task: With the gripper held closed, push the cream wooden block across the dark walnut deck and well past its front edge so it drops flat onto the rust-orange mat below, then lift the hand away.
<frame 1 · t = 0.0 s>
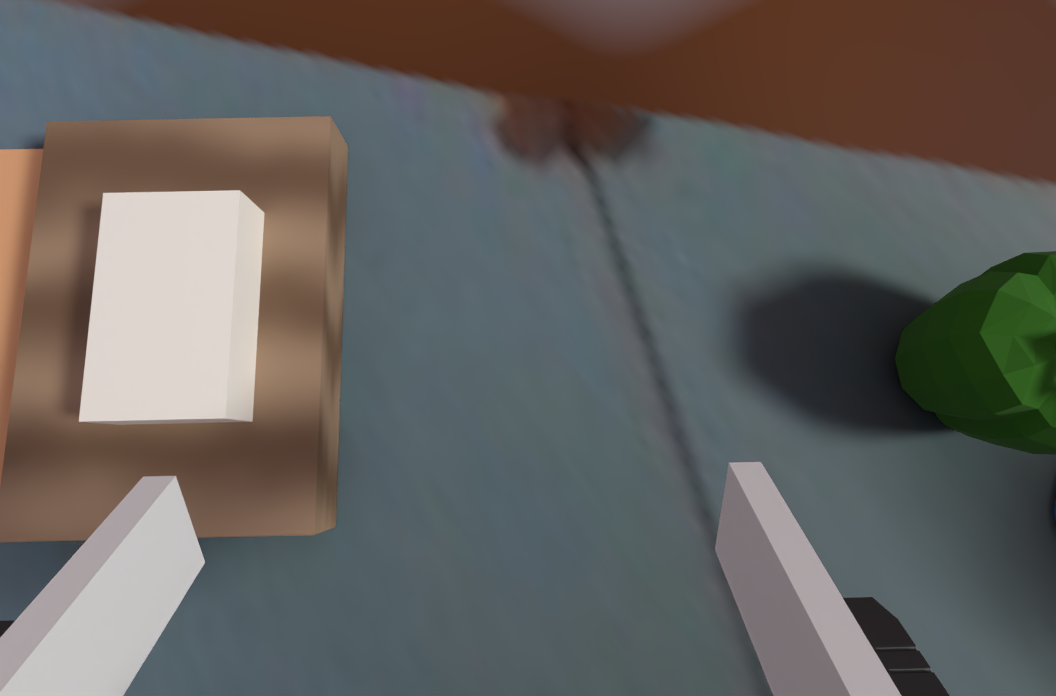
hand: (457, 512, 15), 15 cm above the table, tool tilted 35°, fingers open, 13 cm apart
bell pepper: (944, 371, 31), on the table
walnut deck: (206, 329, 31), on the table
cream block: (194, 315, 28), point 3 cm above the table, touching walnut deck
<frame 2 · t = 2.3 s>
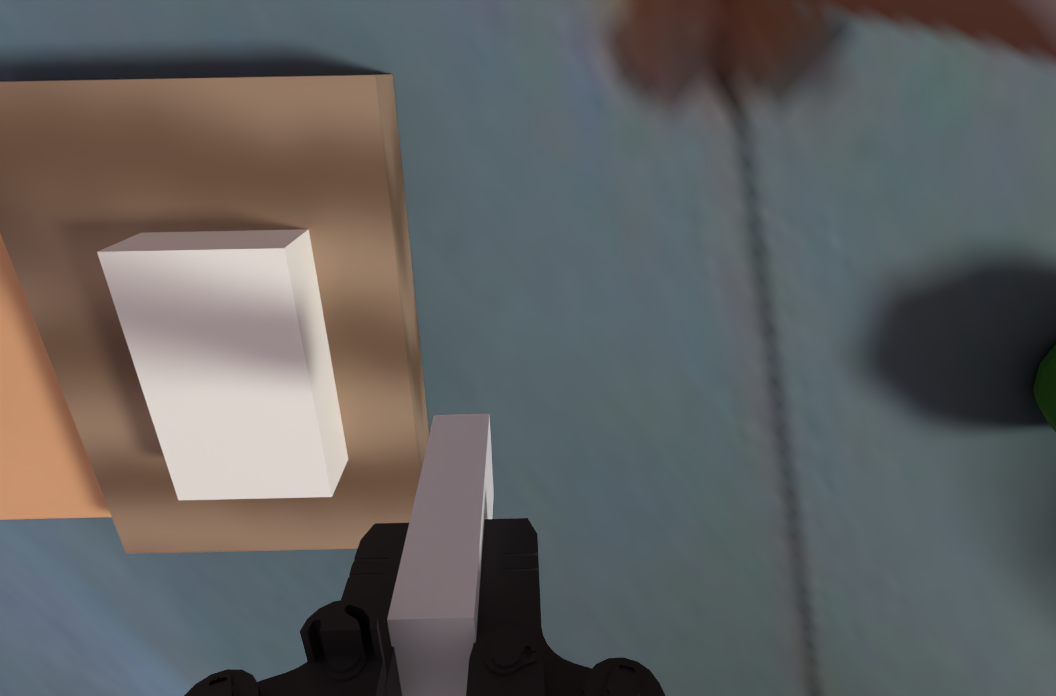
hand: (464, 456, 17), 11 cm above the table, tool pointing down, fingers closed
walnut deck: (258, 326, 26), on the table
cream block: (254, 356, 24), point 3 cm above the table, touching walnut deck
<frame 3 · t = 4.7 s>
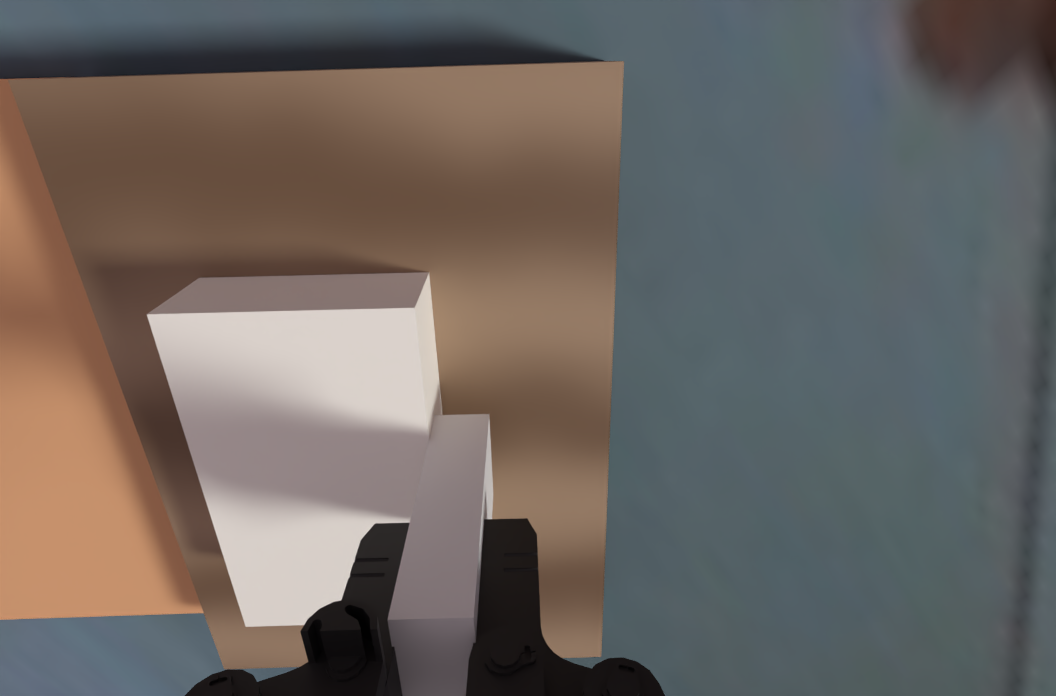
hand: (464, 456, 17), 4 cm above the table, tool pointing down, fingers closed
walnut deck: (394, 388, 21), on the table
cream block: (343, 435, 18), point 3 cm above the table, touching gripper
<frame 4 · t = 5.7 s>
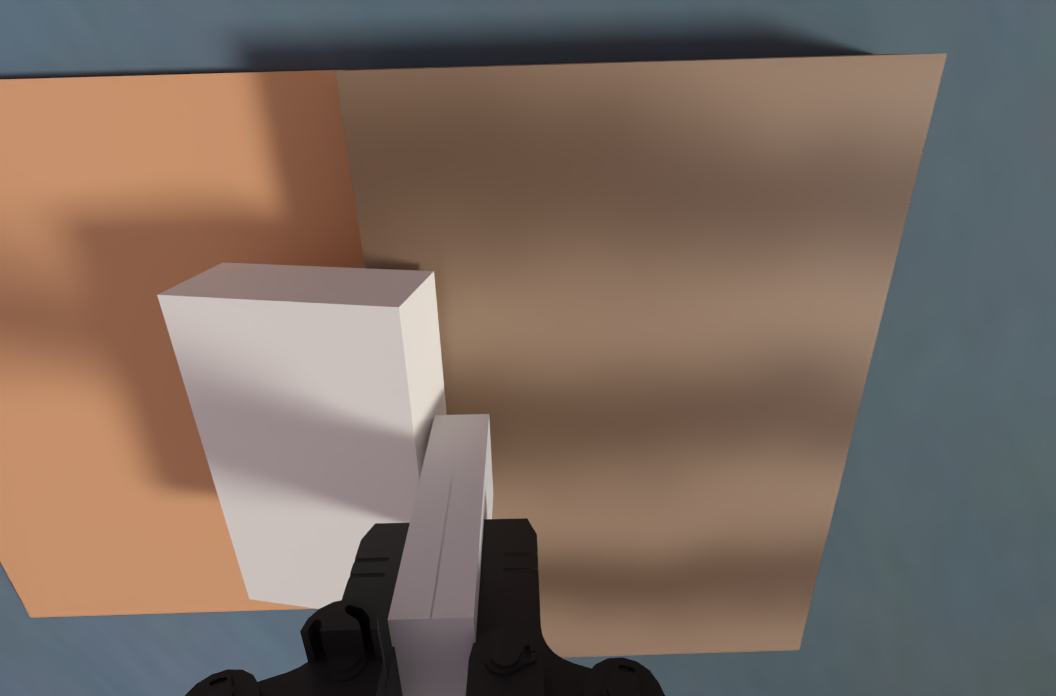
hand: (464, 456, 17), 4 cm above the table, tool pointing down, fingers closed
walnut deck: (609, 381, 21), on the table
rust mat: (160, 395, 21), on the table
cream block: (352, 425, 18), point 3 cm above the table, tilted 11°, touching gripper
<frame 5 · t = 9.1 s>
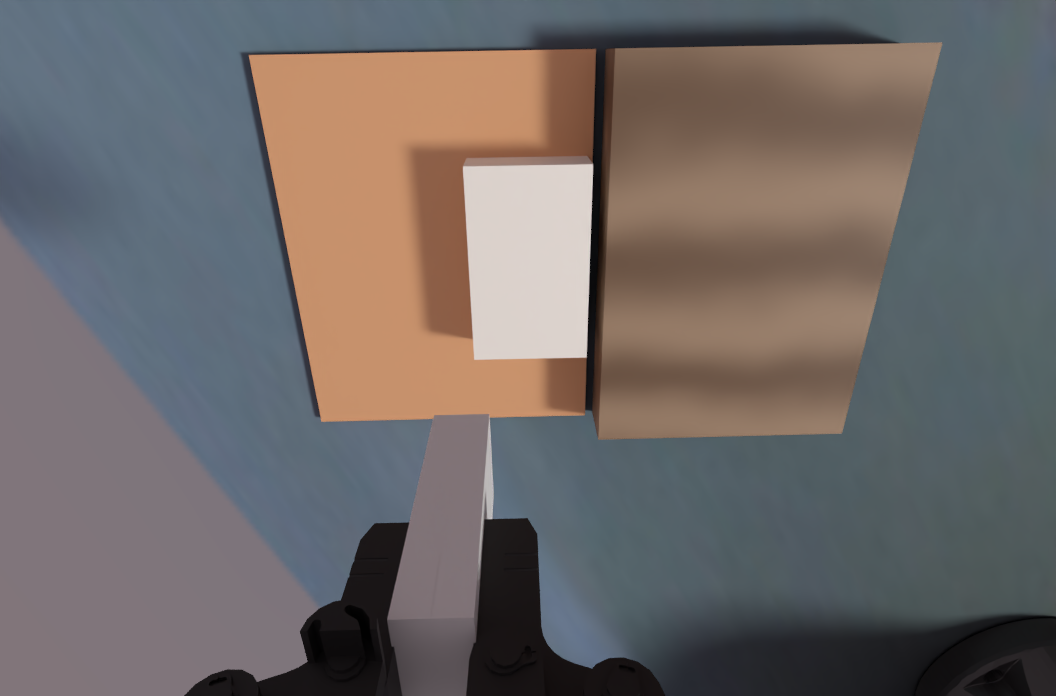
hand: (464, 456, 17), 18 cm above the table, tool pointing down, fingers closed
walnut deck: (726, 251, 33), on the table
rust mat: (441, 258, 33), on the table
cream block: (528, 254, 32), resting on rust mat
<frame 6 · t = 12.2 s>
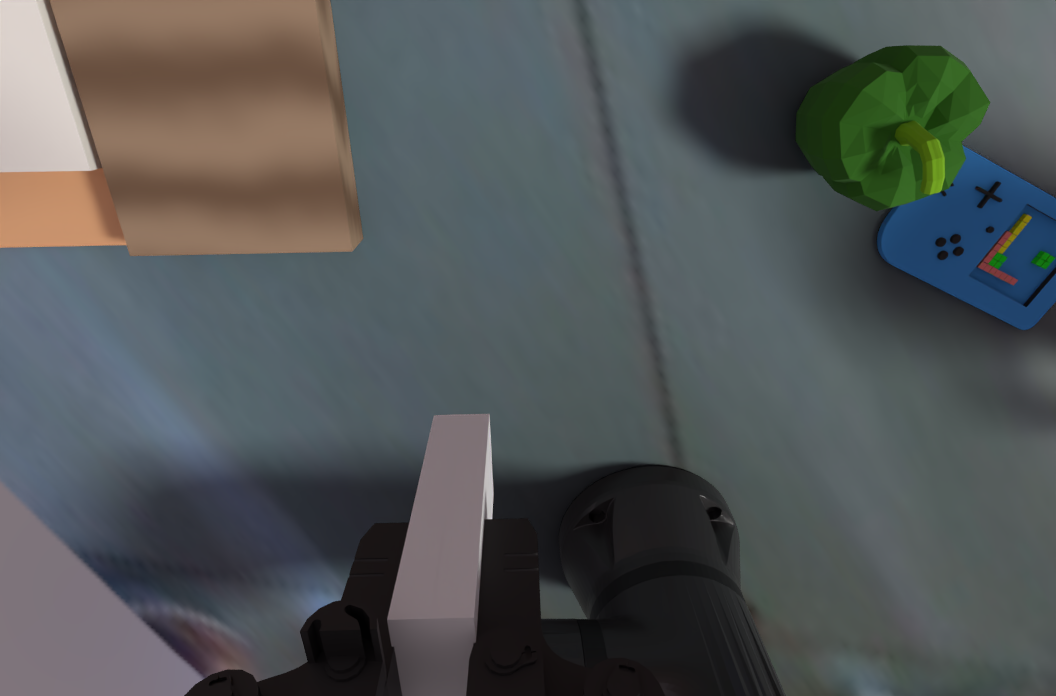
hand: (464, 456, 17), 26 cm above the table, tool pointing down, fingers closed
bell pepper: (837, 119, 38), on the table
walnut deck: (224, 79, 36), on the table
handheld gaming device: (981, 238, 42), on the table
cream block: (39, 78, 36), resting on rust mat
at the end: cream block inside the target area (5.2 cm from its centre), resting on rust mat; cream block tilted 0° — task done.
